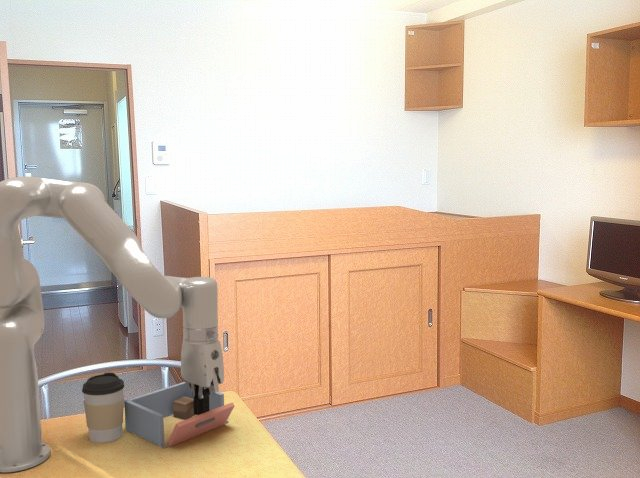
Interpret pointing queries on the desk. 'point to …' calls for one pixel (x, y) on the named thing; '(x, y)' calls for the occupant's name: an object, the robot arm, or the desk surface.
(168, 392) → the tray
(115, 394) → the coffee cup
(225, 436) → the desk surface
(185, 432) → the tailgate
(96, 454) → the desk surface
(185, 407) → the cargo block
